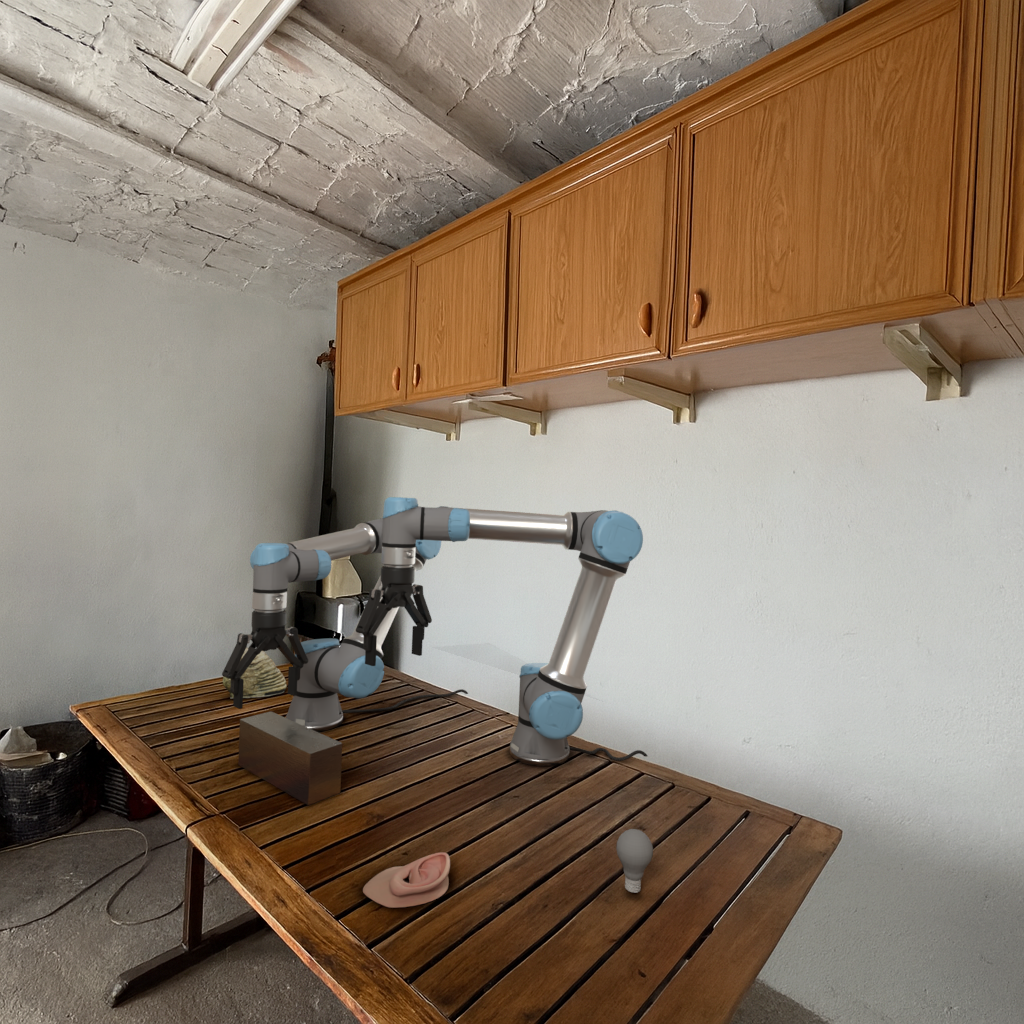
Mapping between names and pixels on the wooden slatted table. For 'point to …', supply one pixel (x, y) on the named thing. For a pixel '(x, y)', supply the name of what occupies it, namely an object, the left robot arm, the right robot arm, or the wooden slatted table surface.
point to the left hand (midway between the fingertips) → (265, 700)
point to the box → (290, 756)
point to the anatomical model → (411, 882)
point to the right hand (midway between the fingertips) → (394, 659)
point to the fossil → (260, 678)
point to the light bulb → (634, 857)
